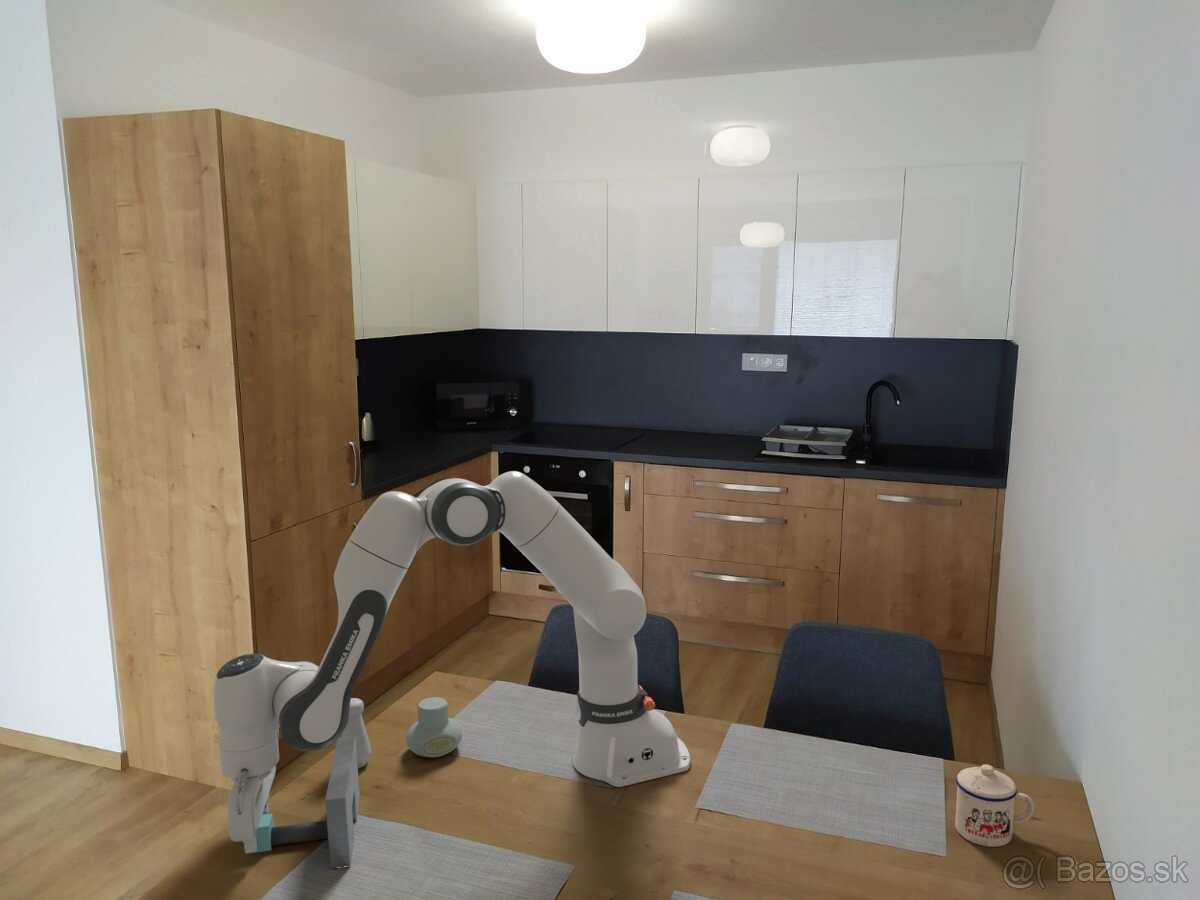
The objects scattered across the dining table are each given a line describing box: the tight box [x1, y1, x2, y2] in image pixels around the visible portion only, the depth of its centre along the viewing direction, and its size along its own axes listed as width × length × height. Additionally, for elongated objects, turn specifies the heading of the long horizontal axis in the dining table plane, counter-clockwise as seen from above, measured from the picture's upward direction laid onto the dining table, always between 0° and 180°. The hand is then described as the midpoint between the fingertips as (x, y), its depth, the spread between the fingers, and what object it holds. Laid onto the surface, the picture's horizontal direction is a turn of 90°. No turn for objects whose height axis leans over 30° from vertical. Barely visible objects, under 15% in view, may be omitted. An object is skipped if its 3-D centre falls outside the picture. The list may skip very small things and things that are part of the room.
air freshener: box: [405, 696, 463, 759], centre depth 173 cm, size 11×8×10 cm
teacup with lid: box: [954, 763, 1035, 848], centre depth 143 cm, size 12×9×12 cm
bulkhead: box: [324, 736, 361, 869], centre depth 147 cm, size 3×20×12 cm, turn 11°
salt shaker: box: [341, 697, 372, 769], centre depth 168 cm, size 6×6×13 cm
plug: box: [244, 813, 328, 855], centre depth 145 cm, size 13×4×4 cm, turn 101°
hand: (257, 832), depth 144 cm, fingers open, 8 cm apart
